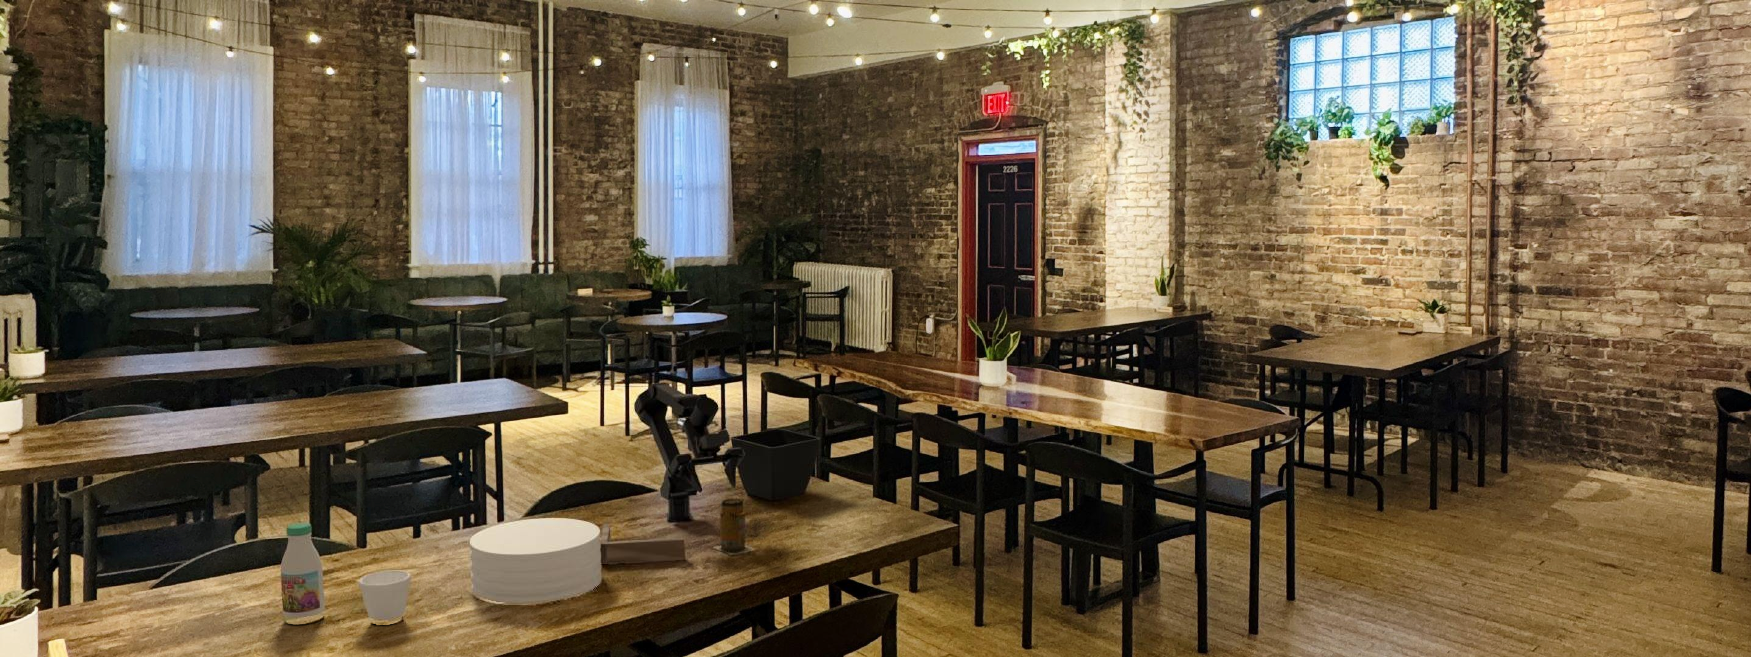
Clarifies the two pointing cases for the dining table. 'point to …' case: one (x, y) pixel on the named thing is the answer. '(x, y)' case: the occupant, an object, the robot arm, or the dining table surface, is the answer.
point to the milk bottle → (301, 574)
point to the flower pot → (776, 462)
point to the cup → (385, 593)
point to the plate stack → (535, 560)
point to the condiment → (733, 528)
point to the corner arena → (639, 549)
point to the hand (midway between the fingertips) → (717, 489)
